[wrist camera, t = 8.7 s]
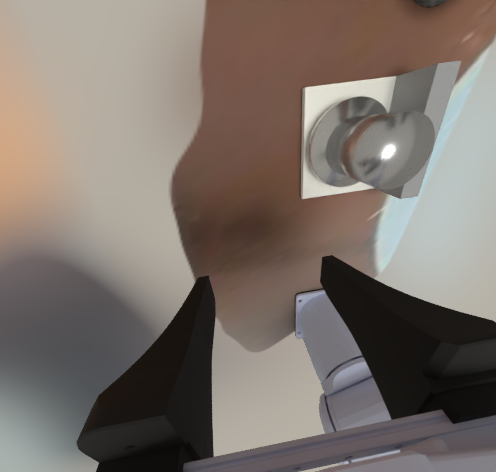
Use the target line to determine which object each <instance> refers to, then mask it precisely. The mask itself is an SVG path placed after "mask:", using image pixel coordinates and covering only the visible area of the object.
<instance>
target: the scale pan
mask: <svg viewBox="0 0 496 472" xmlns="http://www.w3.org/2000/svg"><path fill="white" fill-rule="evenodd" d="M385 113H388V112H387V110H386V109H385V107H384V106H383V105H382V104H381V103H380V102H379V101H377V100H375V99H373V98H370V97H365V96H359V97H353V98H349V99H345V100H342V101H340V102H338V103H336V104H334V105H333V106H331V107H330V108H329V109H328V110H327V111H325V112H324V114H323V115H322V116H321V117H320V118H319V120H318V121H317V123H316V124H315V126H314V128H313V130H312V132H311V135H310V138H309V143H308V150H307V153H308V162H309V165H310V168H311V170H312V172H313V173H314V175H315V176H316V177H317V178H318V179H319V180H321V181H323V182H324V183H326V184H328V185H331V186H335V187H347V186H351V185H354V184H356V183H358V182H360V181H357V180H354V179H352V178H349V177H347V176H344V175H341V174H339V173H336V172H335V171H333V170H332V169H331V168H330V167H329V165H328V163H327V160H326V146H327V142H328V139H329V137H330V135H331V133H332V132H333V130H334V129H335V128H336V127H337V126H338V125H339V124H340V123H341V122H343V121H344V120H346V119H348V118H350V117H354V116H364V115H374V114H385Z"/></svg>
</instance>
